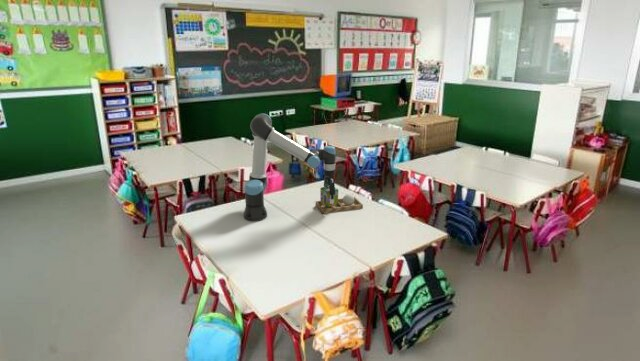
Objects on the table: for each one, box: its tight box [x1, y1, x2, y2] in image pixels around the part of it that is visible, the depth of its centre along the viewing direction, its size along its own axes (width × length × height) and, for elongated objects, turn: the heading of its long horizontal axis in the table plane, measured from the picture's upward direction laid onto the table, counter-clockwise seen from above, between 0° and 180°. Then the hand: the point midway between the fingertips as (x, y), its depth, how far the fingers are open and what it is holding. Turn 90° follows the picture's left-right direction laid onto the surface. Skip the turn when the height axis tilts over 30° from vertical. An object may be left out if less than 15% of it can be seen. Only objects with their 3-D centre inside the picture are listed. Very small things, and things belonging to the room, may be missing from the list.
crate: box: [315, 196, 364, 215], centre depth 280 cm, size 29×15×4 cm, turn 107°
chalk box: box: [319, 184, 339, 208], centre depth 275 cm, size 9×9×15 cm
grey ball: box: [342, 193, 355, 206], centre depth 281 cm, size 8×8×8 cm
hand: (329, 200), depth 276 cm, fingers closed on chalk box, 10 cm apart
